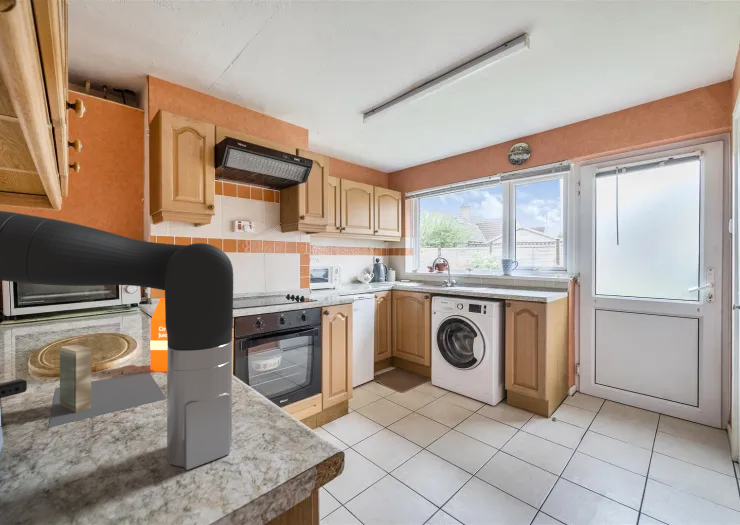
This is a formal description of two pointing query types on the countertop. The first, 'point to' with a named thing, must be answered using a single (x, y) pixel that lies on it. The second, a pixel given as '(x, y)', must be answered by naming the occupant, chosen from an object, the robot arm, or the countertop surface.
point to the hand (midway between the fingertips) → (24, 384)
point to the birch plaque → (75, 377)
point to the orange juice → (159, 338)
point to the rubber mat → (110, 397)
